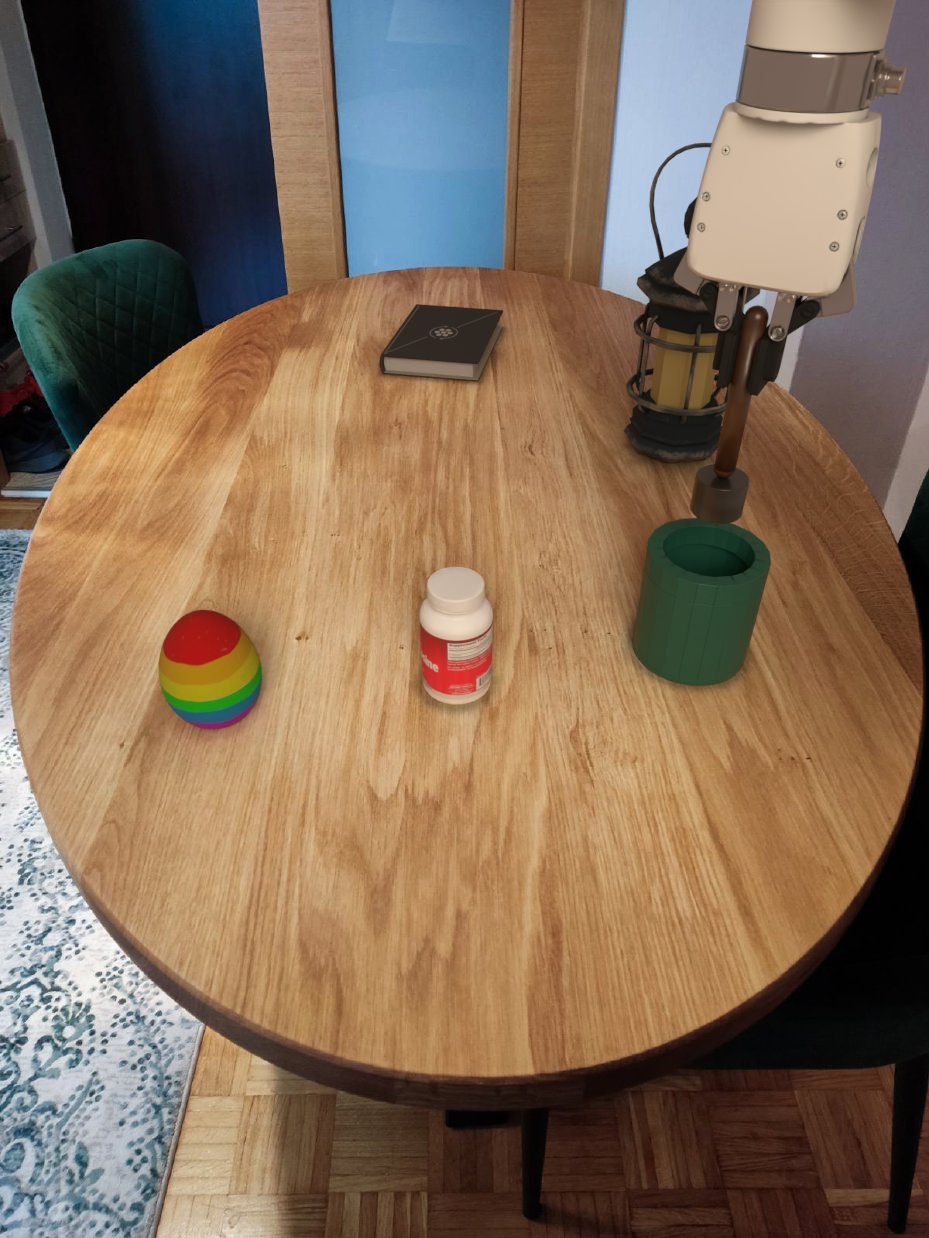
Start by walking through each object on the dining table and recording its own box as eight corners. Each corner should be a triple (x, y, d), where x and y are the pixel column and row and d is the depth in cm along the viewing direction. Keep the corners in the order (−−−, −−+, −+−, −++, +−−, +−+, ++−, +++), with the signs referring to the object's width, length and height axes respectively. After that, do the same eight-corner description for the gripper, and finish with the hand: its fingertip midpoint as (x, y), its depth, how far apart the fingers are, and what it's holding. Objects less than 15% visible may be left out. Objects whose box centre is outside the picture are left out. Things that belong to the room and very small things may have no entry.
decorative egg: (227, 662, 80) (207, 573, 74) (287, 702, 76) (271, 611, 70) (151, 711, 75) (122, 620, 69) (210, 756, 71) (186, 664, 65)
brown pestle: (748, 505, 69) (796, 302, 59) (733, 529, 67) (780, 321, 57) (699, 492, 71) (738, 292, 61) (682, 515, 68) (720, 309, 58)
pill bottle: (418, 663, 80) (413, 564, 73) (484, 656, 81) (486, 557, 74) (426, 711, 75) (422, 609, 68) (497, 703, 76) (500, 602, 69)
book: (415, 321, 146) (414, 303, 145) (502, 328, 144) (503, 310, 142) (379, 374, 130) (378, 354, 128) (478, 382, 128) (478, 362, 126)
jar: (758, 635, 83) (785, 538, 76) (724, 700, 76) (750, 600, 69) (656, 602, 87) (672, 506, 80) (615, 660, 80) (629, 562, 73)
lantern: (745, 445, 112) (812, 138, 91) (702, 487, 104) (764, 161, 82) (644, 416, 119) (684, 123, 97) (596, 454, 111) (628, 143, 89)
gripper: (960, 86, 50) (867, 389, 62) (695, 67, 56) (656, 345, 68) (941, 106, 45) (844, 432, 57) (653, 82, 51) (618, 380, 63)
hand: (742, 383), depth 62 cm, fingers closed on brown pestle, 1 cm apart
